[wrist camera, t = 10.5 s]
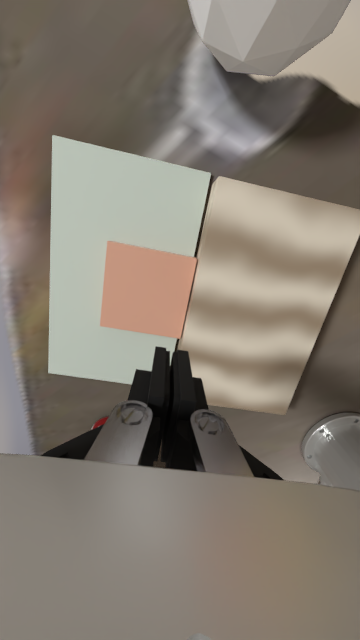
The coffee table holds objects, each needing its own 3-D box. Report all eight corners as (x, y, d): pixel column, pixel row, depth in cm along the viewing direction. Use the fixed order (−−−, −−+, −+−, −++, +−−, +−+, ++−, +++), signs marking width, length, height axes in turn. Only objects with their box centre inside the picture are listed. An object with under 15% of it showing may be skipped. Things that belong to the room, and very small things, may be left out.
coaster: (179, 332, 31) (180, 338, 30) (104, 320, 30) (99, 326, 29) (195, 257, 28) (197, 258, 26) (111, 240, 27) (107, 240, 25)
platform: (272, 396, 36) (285, 414, 32) (170, 382, 34) (170, 399, 31) (341, 215, 28) (369, 212, 24) (211, 184, 26) (219, 176, 22)
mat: (166, 387, 35) (166, 389, 34) (49, 371, 33) (48, 372, 33) (210, 174, 26) (211, 173, 25) (54, 136, 24) (52, 135, 24)
